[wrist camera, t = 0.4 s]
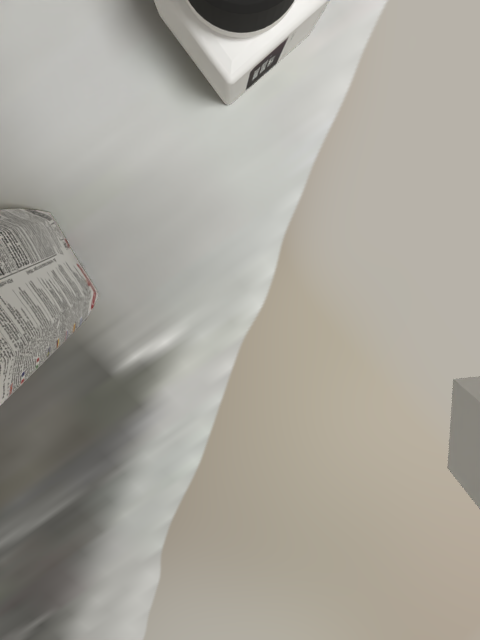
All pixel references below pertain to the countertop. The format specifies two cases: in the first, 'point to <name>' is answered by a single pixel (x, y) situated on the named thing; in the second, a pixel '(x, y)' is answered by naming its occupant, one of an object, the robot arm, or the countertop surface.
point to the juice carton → (36, 293)
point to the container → (239, 36)
